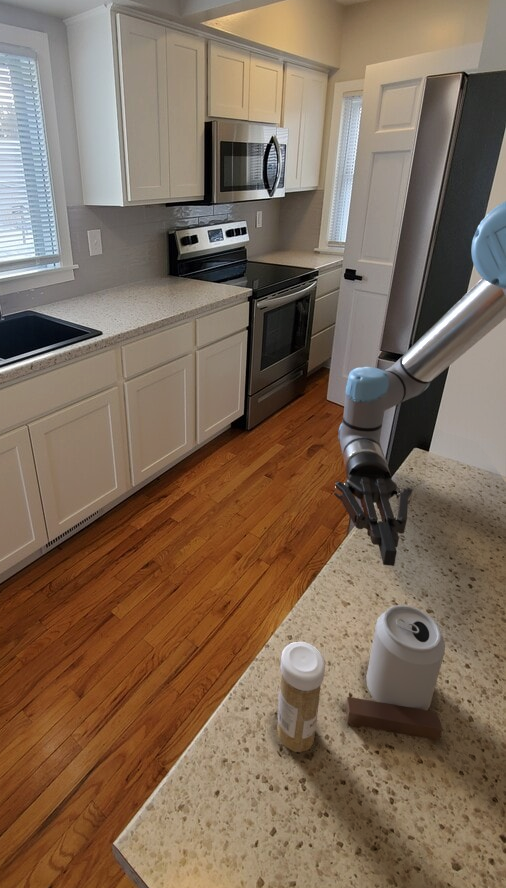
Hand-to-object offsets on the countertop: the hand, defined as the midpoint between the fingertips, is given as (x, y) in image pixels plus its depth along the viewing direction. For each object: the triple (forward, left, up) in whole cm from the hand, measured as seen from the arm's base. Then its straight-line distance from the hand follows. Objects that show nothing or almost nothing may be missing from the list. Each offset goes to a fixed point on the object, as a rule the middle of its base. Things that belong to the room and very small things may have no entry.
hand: (390, 558), depth 70 cm
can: (0, +14, -9) cm, 17 cm away
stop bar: (+2, +19, -9) cm, 21 cm away
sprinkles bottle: (+13, +22, -9) cm, 27 cm away
